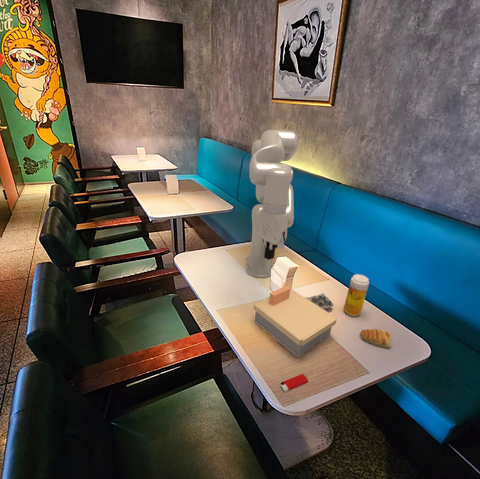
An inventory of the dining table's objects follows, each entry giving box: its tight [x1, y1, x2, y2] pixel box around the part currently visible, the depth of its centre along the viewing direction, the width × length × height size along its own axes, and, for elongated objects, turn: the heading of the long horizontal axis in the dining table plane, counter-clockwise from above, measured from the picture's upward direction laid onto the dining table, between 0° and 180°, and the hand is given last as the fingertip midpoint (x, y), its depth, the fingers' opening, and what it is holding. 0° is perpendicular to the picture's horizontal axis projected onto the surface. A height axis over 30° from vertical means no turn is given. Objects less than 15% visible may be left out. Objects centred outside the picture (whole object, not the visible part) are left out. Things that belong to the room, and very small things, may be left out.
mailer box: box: [254, 310, 333, 358], centre depth 102 cm, size 20×16×6 cm
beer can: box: [343, 273, 370, 317], centre depth 111 cm, size 6×6×15 cm
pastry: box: [359, 328, 392, 349], centre depth 100 cm, size 9×7×4 cm
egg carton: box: [304, 292, 335, 312], centre depth 114 cm, size 11×8×4 cm
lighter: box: [280, 373, 309, 393], centre depth 83 cm, size 3×1×8 cm
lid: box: [252, 285, 337, 346], centre depth 100 cm, size 21×18×6 cm
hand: (269, 257), depth 104 cm, fingers closed
